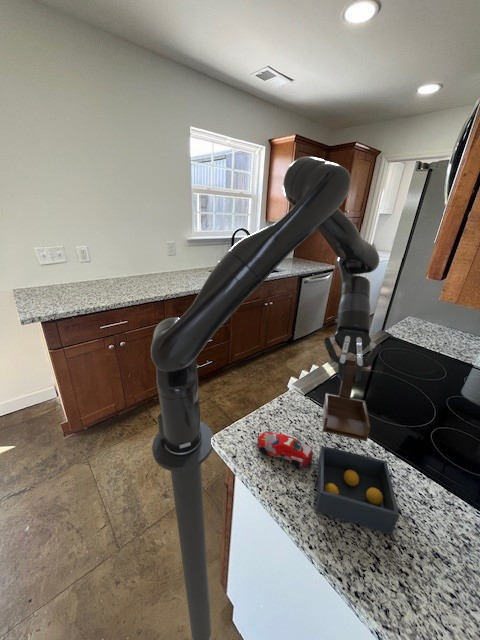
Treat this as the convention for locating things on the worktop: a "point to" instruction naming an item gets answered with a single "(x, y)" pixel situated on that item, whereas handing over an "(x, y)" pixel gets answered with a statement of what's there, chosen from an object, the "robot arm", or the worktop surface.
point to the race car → (285, 448)
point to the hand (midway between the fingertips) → (349, 381)
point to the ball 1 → (331, 488)
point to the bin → (356, 490)
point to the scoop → (346, 410)
